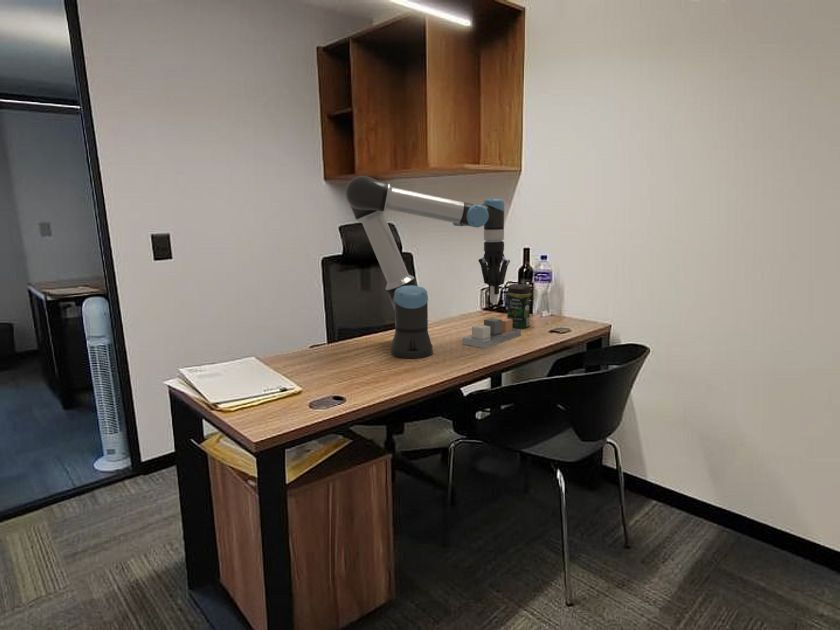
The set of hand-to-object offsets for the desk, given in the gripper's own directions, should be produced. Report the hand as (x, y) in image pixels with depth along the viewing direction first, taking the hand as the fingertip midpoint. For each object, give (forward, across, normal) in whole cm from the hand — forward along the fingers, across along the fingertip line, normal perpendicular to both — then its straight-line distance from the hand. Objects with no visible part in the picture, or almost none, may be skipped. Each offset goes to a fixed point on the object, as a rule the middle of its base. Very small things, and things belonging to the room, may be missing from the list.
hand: (493, 302), depth 199 cm
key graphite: (+12, +1, 0) cm, 12 cm away
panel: (+15, +1, 0) cm, 15 cm away
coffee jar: (+15, +5, -26) cm, 31 cm away
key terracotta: (+13, +1, -8) cm, 15 cm away
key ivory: (+13, 0, +8) cm, 15 cm away
